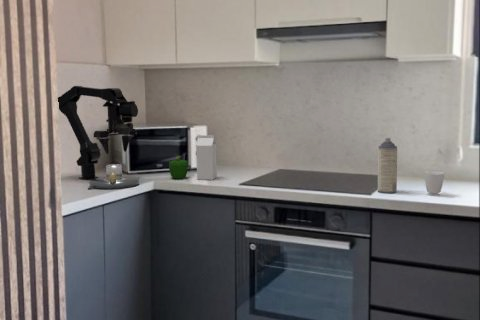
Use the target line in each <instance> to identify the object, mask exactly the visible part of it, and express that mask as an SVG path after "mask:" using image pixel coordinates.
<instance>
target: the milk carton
mask: <svg viewBox="0 0 480 320" xmlns="http://www.w3.org/2000/svg"><path fill="white" fill-rule="evenodd" d="M195 145H196V146H195V149H196V150H195V151H196V153H195V154H196V179H197V180H200V181H201V180H204V181H209V180H210V181H212V180H215V179H216V178H218V174H217V173H218V172H217V171H218V170H217V169H218V168H217V167H218V166H217V163H218V162H217V143H216V139H215V135H212V134H211V135H208V134H207V135H199V134H198V135H197V141H196V144H195Z"/></svg>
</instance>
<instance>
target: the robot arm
mask: <svg viewBox="0 0 480 320" xmlns="http://www.w3.org/2000/svg"><path fill="white" fill-rule="evenodd" d="M81 96H85V97H86V96H87V97H93V98H100V99H101V100H104V101H105V102H104V103H103V104H102V107H103V108H105V107H106V108H107V119H106V121H105V122H106V123H108V124H107V125H108V126H107V127H108V128H107V129H106V130H94V132H93V138H96V140H98V141H99V143H100V144H101V146H102V148H103V150H104V152H105V154H107V155H108V154H109V150H110V149H109V140H110V137H111V136H120V135H121V142H122V149H123V152H124V153H126V152H127V150H128V148H129V143H130V141H131V139H132V138H134V137H135V136H136V135H137V130H136V128H134V124H133V123H132V122H127V123H125V121H124V119H123V118H136V117H137V116H138V114H139V108H138V105H137V104H136V101H135V100H132V101H131V100H130V101H129V100H127V99H126V97H125V96H124V95H123V91H122V90H121V88H119V87H109V88H108V87H107V88H95V87H89V86H81V85H73V86H72V87H70V89H69V90H67V91H66V92H64V93H63V94H61V95H60V96H58V97H57V99H58V102H59V108H58V110H59V111H60V113H61V114H63V115H64V116H65V117H66V118H67V120H68V123H69V125H70V127H71V130H72V131H73V133H74V136H75V138H76V139H77V141H78V144H79V154H80V156H79V158H78V159H77V160H76V161H75V163H76V164H77V166H78V167H80V173H81V176H78V179H80V180H92V179H95V178H99V176H96V166H95V164H96V165H97V164H98V163H99V159H100V158H101V155H102V154H101V149H100V147H99V145H98V143H97V142H92V141H91V139H90V137H89V136H88V133H87V132H86V129H85V127H84V125H83V123H82V120H81V118H80V116H79V114H78V105H77V102H78V101H80V98H81Z"/></svg>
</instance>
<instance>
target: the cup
mask: <svg viewBox="0 0 480 320" xmlns="http://www.w3.org/2000/svg"><path fill="white" fill-rule="evenodd" d="M423 175H424V182H425V184H424V185H425V188H426V192H427V194H426V195H427V196H430V197H439V196H441V194H440V193H441V191H442V188H443V183H444V179H445V172H442V171H433V170H432V171H425V172H423Z"/></svg>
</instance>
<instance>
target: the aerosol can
mask: <svg viewBox="0 0 480 320" xmlns="http://www.w3.org/2000/svg"><path fill="white" fill-rule="evenodd" d="M377 157H378V158H377V193H380V194H386V195H388V194H396V193H397V192H398V191H397V187H398V185H397V184H398V146H396V145H395V143H394V142H392V141H391V137H385V139H384V141H383V142H382V143H381V144H380V145H378V149H377Z"/></svg>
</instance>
